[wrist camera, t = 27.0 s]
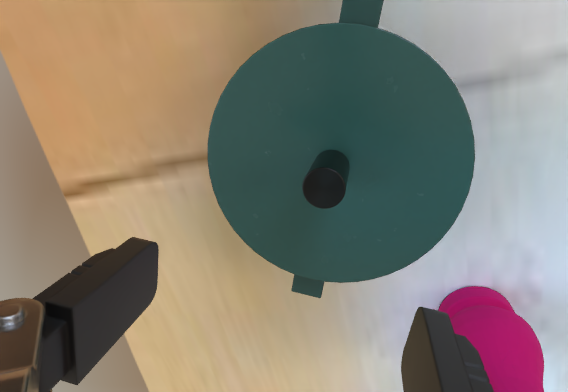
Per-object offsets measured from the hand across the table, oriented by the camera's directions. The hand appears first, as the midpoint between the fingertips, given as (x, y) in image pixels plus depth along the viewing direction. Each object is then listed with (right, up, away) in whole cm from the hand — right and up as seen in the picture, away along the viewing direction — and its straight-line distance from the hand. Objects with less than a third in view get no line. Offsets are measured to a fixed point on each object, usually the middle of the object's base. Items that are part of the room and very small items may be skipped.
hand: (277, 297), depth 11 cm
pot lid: (+3, +5, +14) cm, 16 cm away
